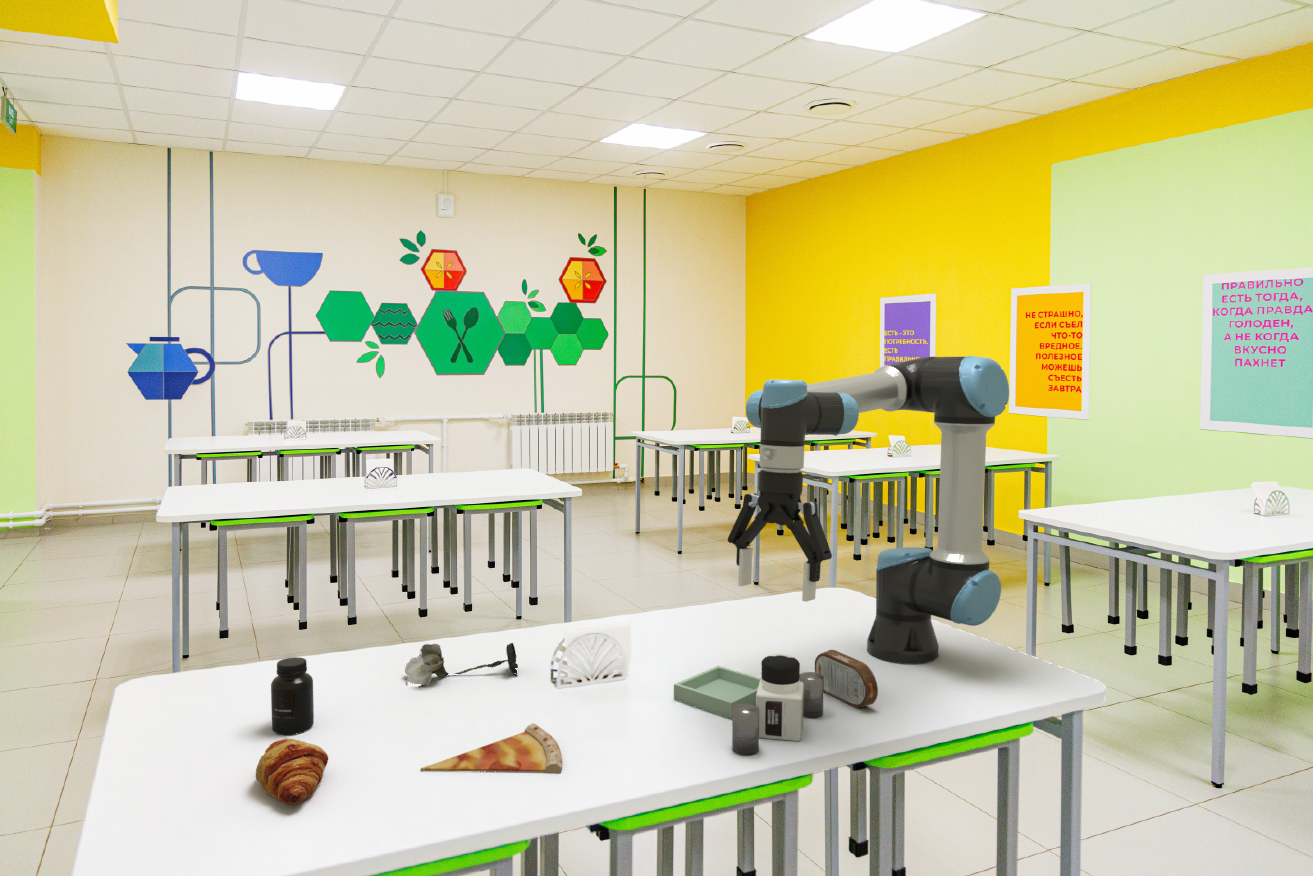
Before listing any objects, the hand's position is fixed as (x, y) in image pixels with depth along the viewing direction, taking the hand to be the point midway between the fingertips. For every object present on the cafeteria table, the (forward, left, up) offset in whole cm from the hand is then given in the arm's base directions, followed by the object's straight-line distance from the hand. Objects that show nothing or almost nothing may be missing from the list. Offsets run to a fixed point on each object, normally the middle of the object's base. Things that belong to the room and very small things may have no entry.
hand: (775, 592), depth 152 cm
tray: (-5, -15, -24) cm, 29 cm away
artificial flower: (+22, -61, -25) cm, 69 cm away
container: (0, +1, -24) cm, 24 cm away
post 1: (+10, +1, -24) cm, 26 cm away
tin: (-20, +2, -25) cm, 31 cm away
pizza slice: (+37, -29, -25) cm, 53 cm away
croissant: (+65, -44, -25) cm, 82 cm away
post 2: (-10, +1, -24) cm, 26 cm away
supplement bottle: (+56, -63, -24) cm, 88 cm away
